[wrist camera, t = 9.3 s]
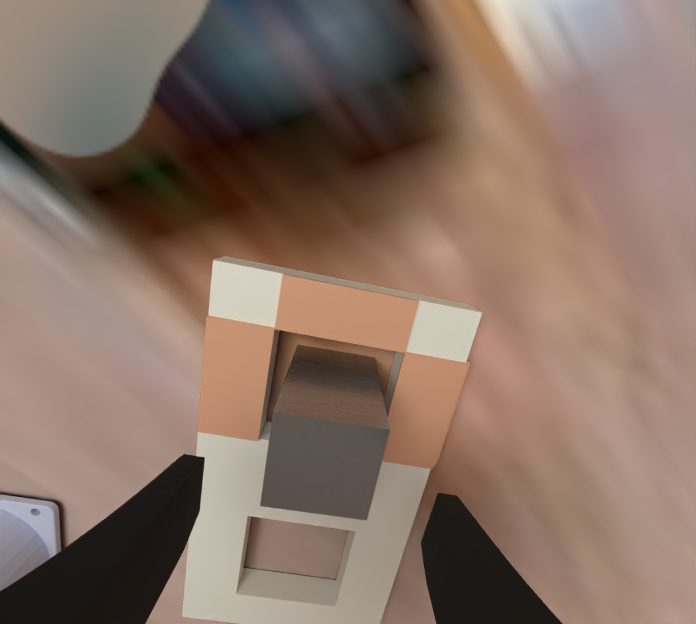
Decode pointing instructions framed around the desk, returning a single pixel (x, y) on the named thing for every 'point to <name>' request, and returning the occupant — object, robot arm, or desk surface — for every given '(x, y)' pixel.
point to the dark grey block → (326, 435)
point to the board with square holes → (254, 431)
